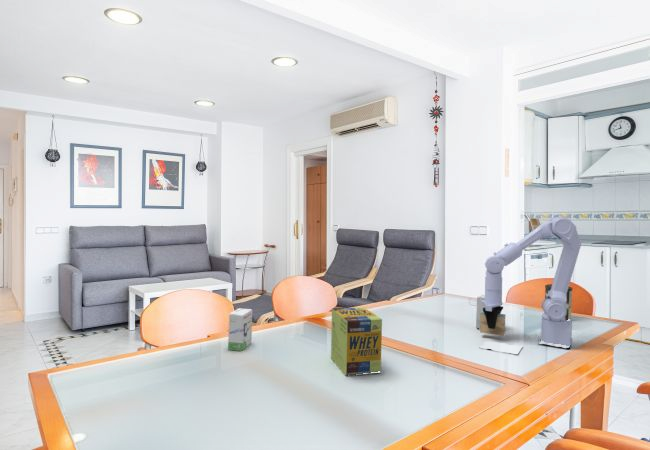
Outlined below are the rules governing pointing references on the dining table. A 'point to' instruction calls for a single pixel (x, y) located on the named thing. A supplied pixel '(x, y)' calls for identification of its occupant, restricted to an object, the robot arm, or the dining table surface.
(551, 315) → the robot arm
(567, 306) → the coffee can
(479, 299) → the supplement box
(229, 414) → the dining table surface
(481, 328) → the slab
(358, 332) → the protein box
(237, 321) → the ink box
